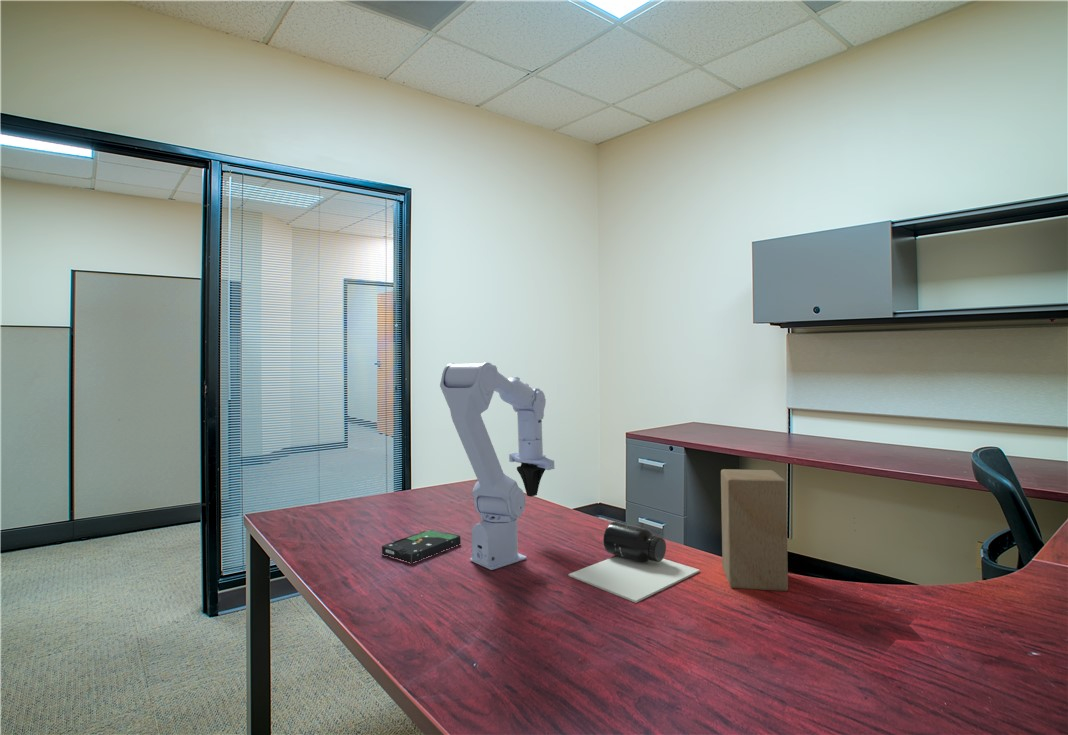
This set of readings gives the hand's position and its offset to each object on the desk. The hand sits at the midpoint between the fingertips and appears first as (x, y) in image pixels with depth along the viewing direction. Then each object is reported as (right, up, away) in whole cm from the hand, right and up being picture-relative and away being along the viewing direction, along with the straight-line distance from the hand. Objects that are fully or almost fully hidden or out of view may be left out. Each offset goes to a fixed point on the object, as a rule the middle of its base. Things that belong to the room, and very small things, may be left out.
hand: (532, 495), depth 129 cm
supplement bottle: (+17, -6, -11) cm, 22 cm away
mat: (+20, -10, -22) cm, 32 cm away
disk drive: (-25, -12, -6) cm, 28 cm away
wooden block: (+42, -10, -26) cm, 51 cm away
